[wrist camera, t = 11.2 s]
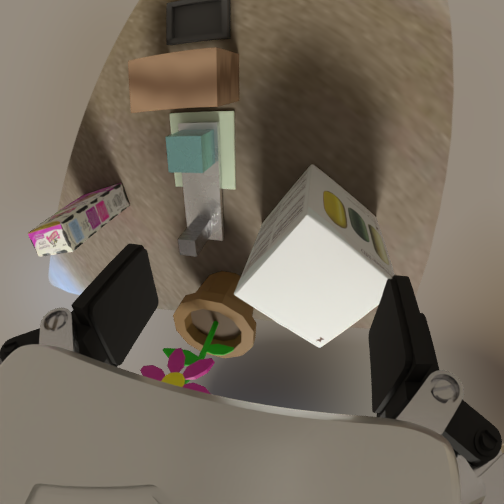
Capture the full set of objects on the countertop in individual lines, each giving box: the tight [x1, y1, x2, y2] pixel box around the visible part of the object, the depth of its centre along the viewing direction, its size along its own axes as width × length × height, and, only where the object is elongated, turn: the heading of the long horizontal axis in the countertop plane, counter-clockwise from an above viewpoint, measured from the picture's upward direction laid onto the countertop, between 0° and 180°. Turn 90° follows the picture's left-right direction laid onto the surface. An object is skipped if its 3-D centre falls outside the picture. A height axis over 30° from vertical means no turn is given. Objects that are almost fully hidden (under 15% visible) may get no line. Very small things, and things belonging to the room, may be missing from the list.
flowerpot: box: [140, 271, 256, 394], centre depth 45 cm, size 14×14×30 cm
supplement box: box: [234, 164, 395, 348], centre depth 38 cm, size 13×13×18 cm
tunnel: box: [128, 47, 239, 113], centre depth 33 cm, size 7×11×10 cm, turn 90°
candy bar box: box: [28, 183, 130, 257], centre depth 45 cm, size 11×5×16 cm, turn 104°
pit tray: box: [167, 0, 230, 45], centre depth 31 cm, size 7×9×2 cm
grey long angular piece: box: [166, 122, 224, 257], centre depth 41 cm, size 19×6×8 cm, turn 0°
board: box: [170, 111, 236, 189], centre depth 43 cm, size 12×10×1 cm
